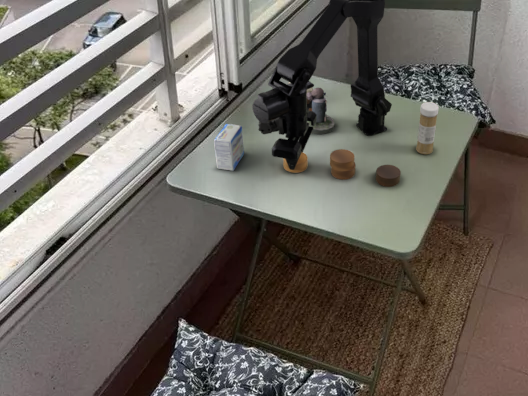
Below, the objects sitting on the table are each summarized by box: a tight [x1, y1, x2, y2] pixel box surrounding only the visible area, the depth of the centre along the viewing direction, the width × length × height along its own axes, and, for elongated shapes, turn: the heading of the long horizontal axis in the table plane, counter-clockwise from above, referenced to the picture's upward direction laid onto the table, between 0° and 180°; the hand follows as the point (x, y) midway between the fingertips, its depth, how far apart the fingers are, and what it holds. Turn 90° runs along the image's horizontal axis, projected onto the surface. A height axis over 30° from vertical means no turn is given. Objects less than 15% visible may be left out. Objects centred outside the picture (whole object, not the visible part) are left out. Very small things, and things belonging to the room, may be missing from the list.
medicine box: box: [213, 123, 245, 172], centre depth 169 cm, size 8×4×9 cm, turn 169°
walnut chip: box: [375, 164, 402, 188], centre depth 168 cm, size 6×6×2 cm
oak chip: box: [282, 151, 309, 174], centre depth 170 cm, size 6×6×2 cm
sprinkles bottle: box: [415, 101, 439, 155], centre depth 176 cm, size 5×5×13 cm
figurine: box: [307, 87, 335, 135], centre depth 183 cm, size 8×8×12 cm
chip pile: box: [329, 148, 356, 181], centre depth 168 cm, size 6×6×5 cm
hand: (295, 162), depth 170 cm, fingers closed on oak chip, 6 cm apart
